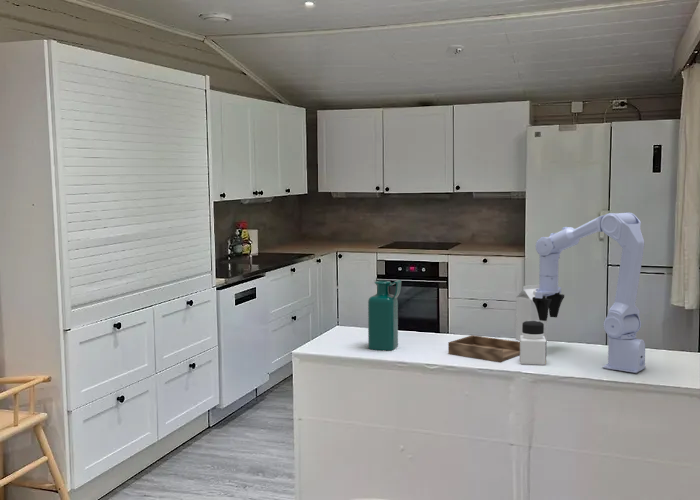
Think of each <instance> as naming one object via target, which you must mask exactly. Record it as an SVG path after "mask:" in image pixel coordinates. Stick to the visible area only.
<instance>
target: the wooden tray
mask: <svg viewBox="0 0 700 500" xmlns="http://www.w3.org/2000/svg"><path fill="white" fill-rule="evenodd" d="M447 345H448V351H447V352H448V355H455V356H460V357H465V358H473V359H478V360H483V361H484V360H485V361H491V362H495V363H496V362H497V363H503V362H505V361H508V360H510V359H513V358H515V357H518V356H519V357H520V341H519V340H517V341H516V340H509V339H502V338H496V337H487V336H481V335H469V336H465V337H461V338H459V339H455V340H452V341H449V342H448V344H447Z"/></svg>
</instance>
